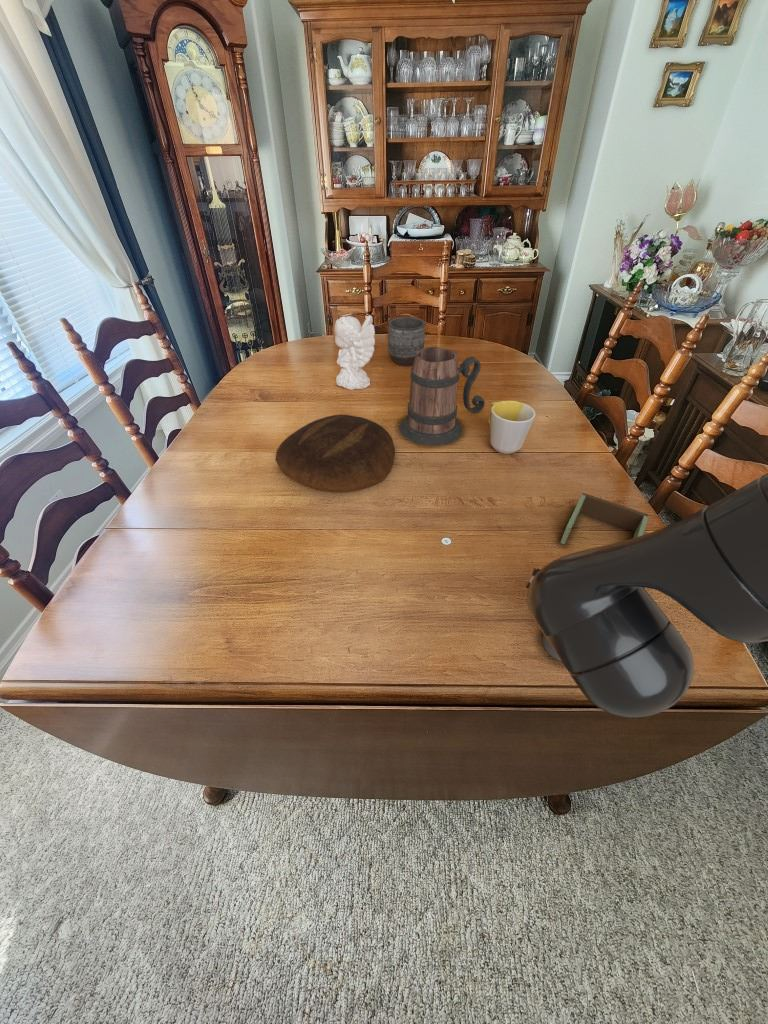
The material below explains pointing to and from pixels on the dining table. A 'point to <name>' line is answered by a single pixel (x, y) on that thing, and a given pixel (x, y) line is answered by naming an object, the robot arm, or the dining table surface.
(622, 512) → the green u-shaped frame
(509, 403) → the mug
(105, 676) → the dining table surface
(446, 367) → the tankard
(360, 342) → the cherub figurine
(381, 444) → the bread
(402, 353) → the planter
